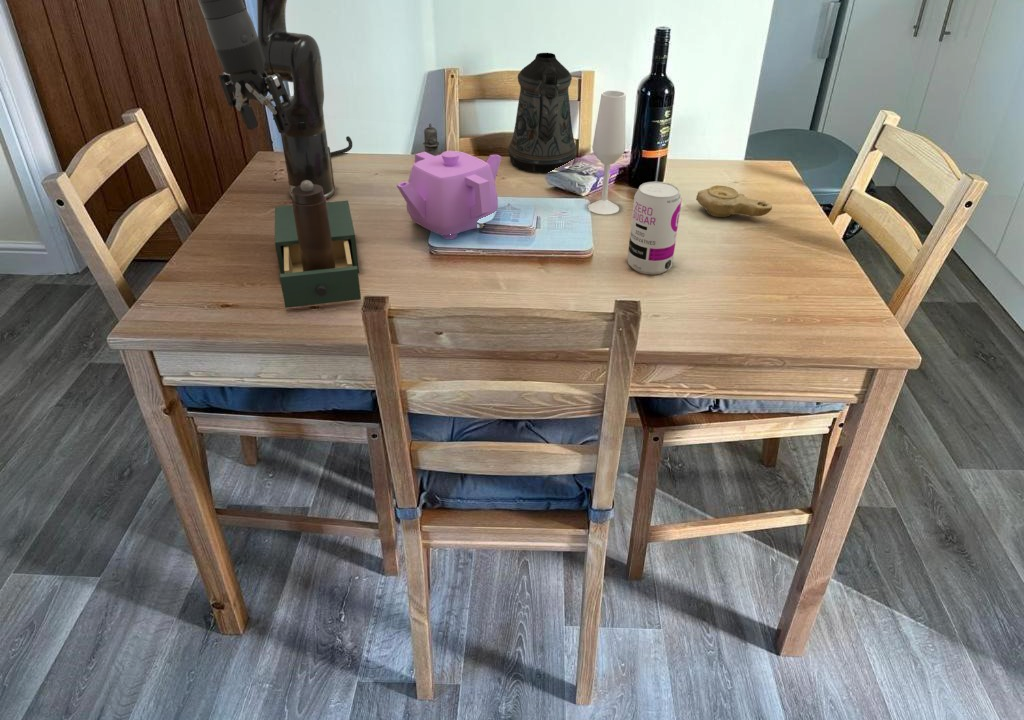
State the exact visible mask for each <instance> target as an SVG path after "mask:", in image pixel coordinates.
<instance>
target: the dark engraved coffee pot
mask: <svg viewBox="0 0 1024 720" xmlns="http://www.w3.org/2000/svg"><path fill="white" fill-rule="evenodd" d="M572 79H573V76H572V74H571V73H570V71H569V70H568V69H567V68H566V67H565V66H564V65H563V64H562V63H561V61H559V60H558V59H557V57H556V54H555V53H553V52H539V53H536V55H535V58H534V59H533V60H532V61H531V62H530V63H529V64H527V65H526V66H524V67H523V68H522V69H520V71H519V72H518V73H517V83H518V85H519V86H520V90H519V96H518V103H517V110H516V116H515V122H514V130H513V134H512V137H511V141H510V142H509V145H508V146H507V147H508V148H507V151H508V155H509V161H510V163H511V165H512V167H514V168H516V169H517V170H520V171H523V172H527V173H532V174H533V173H534V174H549V173H548V172H550V171H552V170H554V169H555V168H558V167H560V166H562V165H564V164H566V163H568V162H569V161H571V160H573V159H575V160H576V156H577V152H578V148H577V144H576V142H575V138H574V137H575V136H574V132H573V125H572V124H573V123H572V117H571V106H570V95H569V94H570V93H569V87H570V85H571V83H572V81H573V80H572Z"/></svg>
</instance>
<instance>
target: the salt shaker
mask: <svg viewBox="0 0 1024 720" xmlns="http://www.w3.org/2000/svg"><path fill="white" fill-rule="evenodd" d="M432 125H433V124H432V123H429V124H428V127H425V128H424V131H423V135H424V142H423V143H422V144H423V146H424V152H427V153H429V154H431V155H434V156H437V155H440V154H439V145H440V143H439V141H438V131H437V129H436V128H435V127H433V126H432Z"/></svg>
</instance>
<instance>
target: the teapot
mask: <svg viewBox="0 0 1024 720" xmlns="http://www.w3.org/2000/svg"><path fill="white" fill-rule="evenodd" d="M501 161H502V156H501V155H499V154H489V157H488V159H487V160H486V161H484V160H483V159H481V158H479V157H476V156H474V155H471V154H469V153H466V152H463V151H456V150H446V151H442V152H441V154H439V155H437V156H434V155H431V154H429V153H427V152H425V151H421V152H418V153H415V154H414V163H413V164H412V167H411V170H410V173H409V178H408V181H405V180H403V181H402V182H400V183H398V184H396V187H397V189H398V191H399V193H400V194H401V196H402V197H403V199H404V202H405V204H406V211H407V213H408V215H409V217H410V218H411V220H412V221H413V222H414V223H416V224H417V225H419V226H420V227H422V228H425V230H428V231H430V232H432V231H433V232H432V233H434V232H435V233H434V234H436V233H437V235H439V234H440V236H441V237H442V238H443V239H445V240H454V239H457V237H458V234H459V233H463V232H467V231H470V230H473V229H474V230H479V229H478V228H477V221H478V220H479V219H481V218H483V217H486V216H488V215H490V214H492V213H494V212H495V211H498V209H499V198H498V197H499V196H498V191H497V185H496V178H497V176H498V171H499V168H500V165H501ZM450 234H451V235H450Z"/></svg>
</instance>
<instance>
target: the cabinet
mask: <svg viewBox="0 0 1024 720" xmlns="http://www.w3.org/2000/svg"><path fill="white" fill-rule="evenodd" d="M326 202H327V210H328V217H329V224H330V232H331V239H332V241H337V240H347V239H348V243H349V249H350V254H351V260H352V266H357V269H358V274H360V266H359V259H358V258H359V257H358V249H357V241H356V240H357V239H356V233H355V228H354V223H353V217H352V214H351V213H352V212H351V208H350V204H349V200H347V199H346V200H336V201H326ZM296 244H299V243H298V237H297V231H296V224H295V218H294V212H293V206H292V204H290V205H278V206H274V245H275V251H276V257H277V261H278V267H279V272H280V274H284V273H285V272H284V246H285V245H296Z"/></svg>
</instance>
